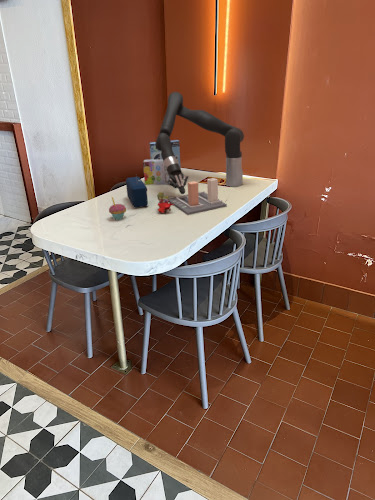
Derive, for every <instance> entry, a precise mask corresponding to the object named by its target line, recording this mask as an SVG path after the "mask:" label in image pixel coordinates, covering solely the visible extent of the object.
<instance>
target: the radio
mask: <svg viewBox="0 0 375 500" xmlns="http://www.w3.org/2000/svg"><path fill="white" fill-rule="evenodd" d="M125 185H126V194H127V199H128V200H129V202H130V204H131V205H132V206H133V208H134V209H137V208H142V207H147V206H148V204H149V203H148V202H149V201H148V188H147V185H145V182H144V181H142V179H141V178H140V177H139V176H137V175H136V176H133V177H127V178H126V179H125Z"/></svg>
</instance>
